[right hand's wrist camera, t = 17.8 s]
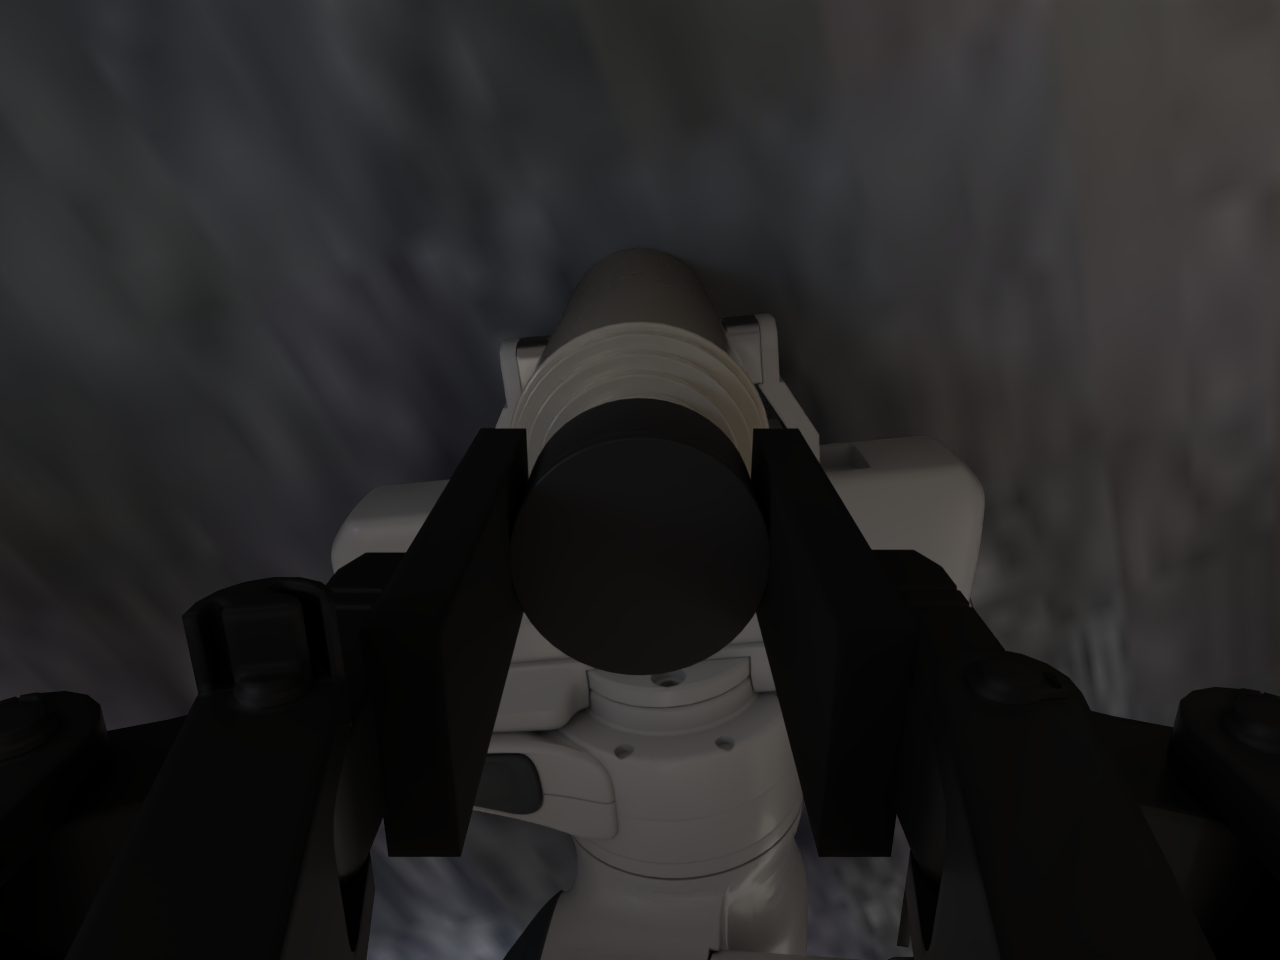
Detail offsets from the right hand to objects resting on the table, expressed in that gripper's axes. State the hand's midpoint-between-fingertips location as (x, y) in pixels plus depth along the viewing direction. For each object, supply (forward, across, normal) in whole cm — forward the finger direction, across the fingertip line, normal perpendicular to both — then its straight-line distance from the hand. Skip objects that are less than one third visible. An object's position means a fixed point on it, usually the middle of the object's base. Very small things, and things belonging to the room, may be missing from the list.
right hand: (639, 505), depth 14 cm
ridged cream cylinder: (+18, 0, 0) cm, 18 cm away
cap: (-2, 0, 0) cm, 2 cm away
